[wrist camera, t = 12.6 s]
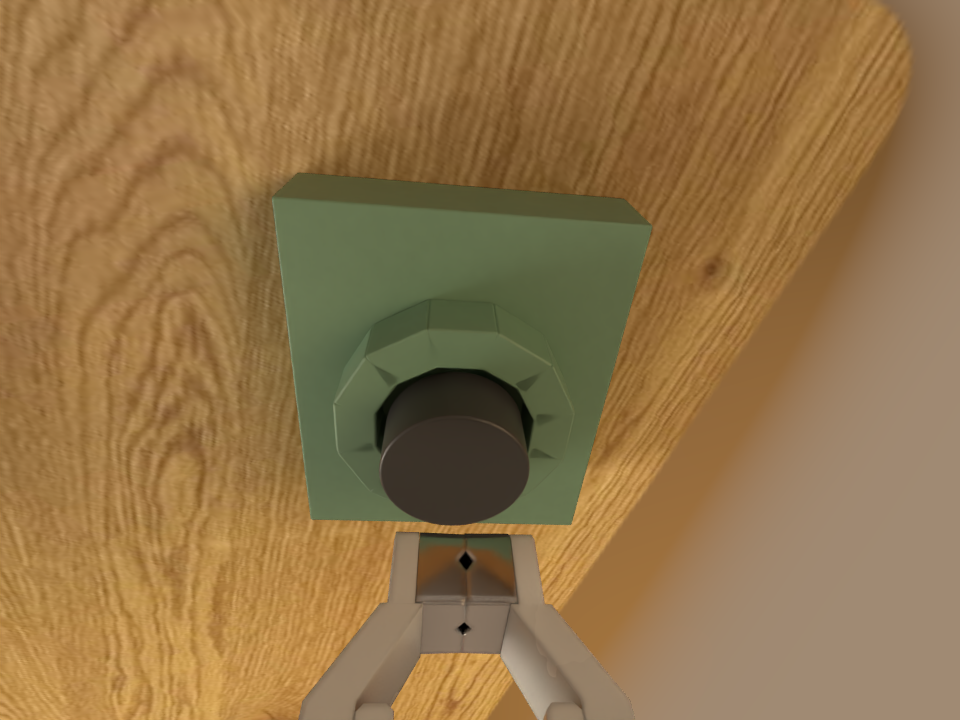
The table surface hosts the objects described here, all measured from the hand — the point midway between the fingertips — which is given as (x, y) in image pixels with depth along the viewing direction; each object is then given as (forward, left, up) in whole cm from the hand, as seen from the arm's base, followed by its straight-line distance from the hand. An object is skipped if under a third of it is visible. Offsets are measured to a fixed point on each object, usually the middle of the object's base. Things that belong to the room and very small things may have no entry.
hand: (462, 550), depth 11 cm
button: (0, 0, -5) cm, 5 cm away
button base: (0, 0, -9) cm, 9 cm away
